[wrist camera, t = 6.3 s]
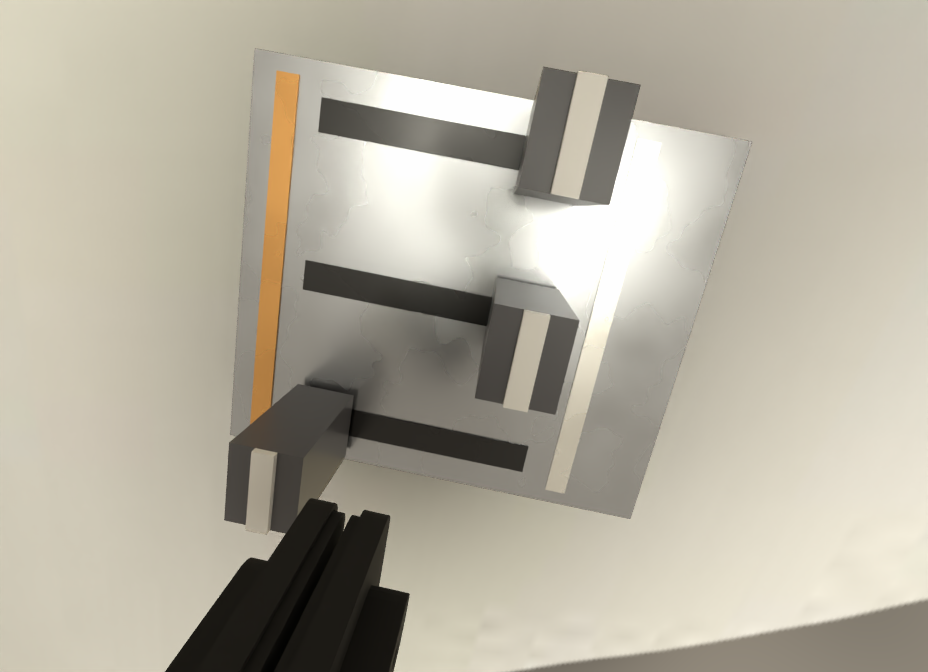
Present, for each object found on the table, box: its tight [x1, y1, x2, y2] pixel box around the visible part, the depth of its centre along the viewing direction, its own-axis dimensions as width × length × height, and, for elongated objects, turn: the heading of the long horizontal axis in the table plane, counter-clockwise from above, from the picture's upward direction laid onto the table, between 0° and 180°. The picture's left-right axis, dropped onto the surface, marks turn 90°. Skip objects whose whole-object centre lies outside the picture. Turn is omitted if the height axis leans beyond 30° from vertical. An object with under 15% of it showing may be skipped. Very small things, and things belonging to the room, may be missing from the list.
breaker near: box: [514, 67, 640, 206], centre depth 12 cm, size 2×2×5 cm
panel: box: [230, 48, 752, 519], centre depth 17 cm, size 13×15×2 cm
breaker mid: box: [475, 277, 580, 415], centre depth 14 cm, size 2×2×5 cm
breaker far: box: [224, 384, 354, 535], centre depth 15 cm, size 2×2×5 cm
